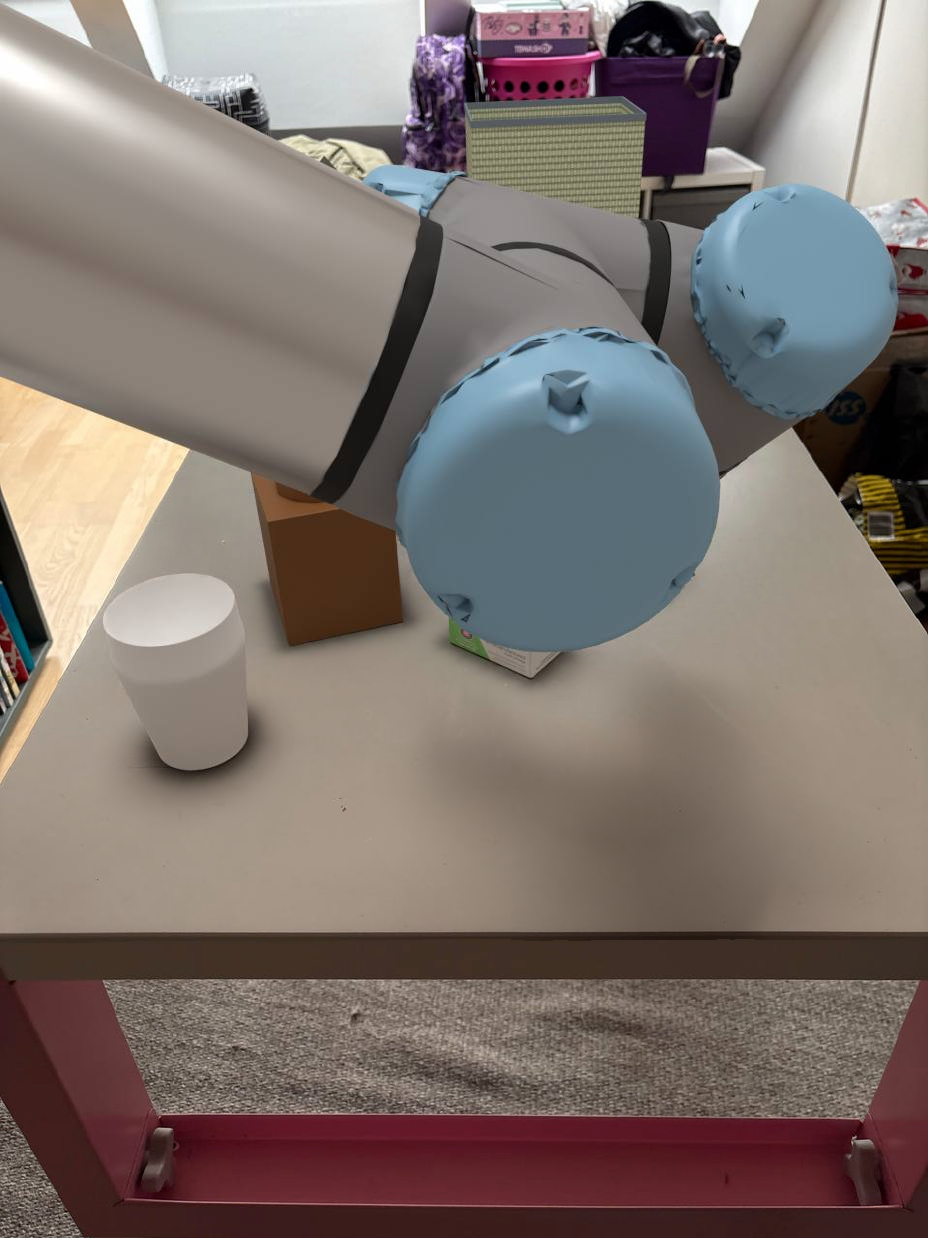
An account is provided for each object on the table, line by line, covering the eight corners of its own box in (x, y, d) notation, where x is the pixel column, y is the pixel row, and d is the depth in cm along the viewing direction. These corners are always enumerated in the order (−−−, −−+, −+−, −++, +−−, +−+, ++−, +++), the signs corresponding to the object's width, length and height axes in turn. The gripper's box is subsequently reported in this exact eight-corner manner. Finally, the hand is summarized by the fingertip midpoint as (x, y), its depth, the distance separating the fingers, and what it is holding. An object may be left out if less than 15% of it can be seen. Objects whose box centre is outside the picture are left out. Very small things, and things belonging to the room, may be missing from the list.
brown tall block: (288, 646, 81) (263, 498, 73) (270, 585, 89) (245, 445, 81) (403, 621, 83) (391, 475, 75) (376, 564, 91) (362, 426, 83)
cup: (228, 686, 77) (199, 558, 70) (287, 743, 71) (261, 610, 64) (121, 737, 72) (78, 605, 65) (174, 803, 66) (133, 666, 59)
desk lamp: (478, 418, 118) (470, 120, 99) (472, 375, 130) (464, 102, 111) (626, 410, 118) (647, 113, 100) (607, 369, 130) (622, 95, 111)
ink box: (447, 643, 80) (440, 519, 74) (483, 615, 84) (480, 494, 77) (531, 681, 76) (532, 553, 69) (565, 650, 79) (570, 525, 72)
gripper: (421, 559, 44) (371, 640, 64) (884, 467, 50) (703, 568, 70) (383, 406, 45) (345, 533, 65) (841, 334, 51) (675, 472, 71)
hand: (530, 552), depth 68 cm, fingers open, 13 cm apart
